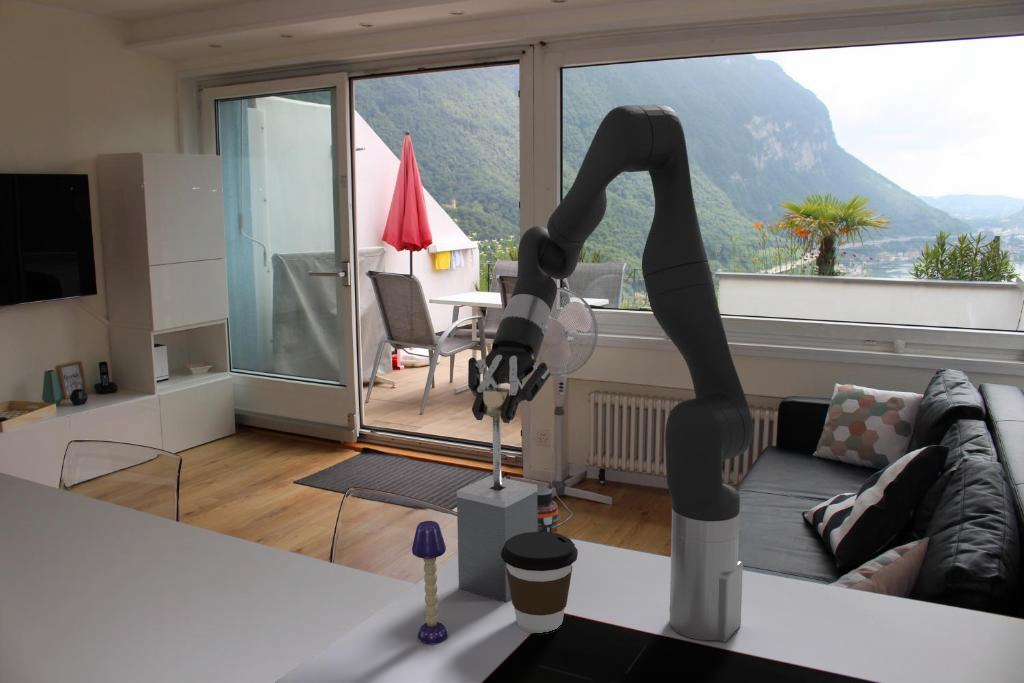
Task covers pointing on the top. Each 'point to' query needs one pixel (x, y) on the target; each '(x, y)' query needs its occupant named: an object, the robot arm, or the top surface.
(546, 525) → the supplement bottle
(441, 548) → the toy lamp
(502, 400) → the tan rounded stemmed piece
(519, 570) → the coffee cup
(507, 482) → the block with hole
